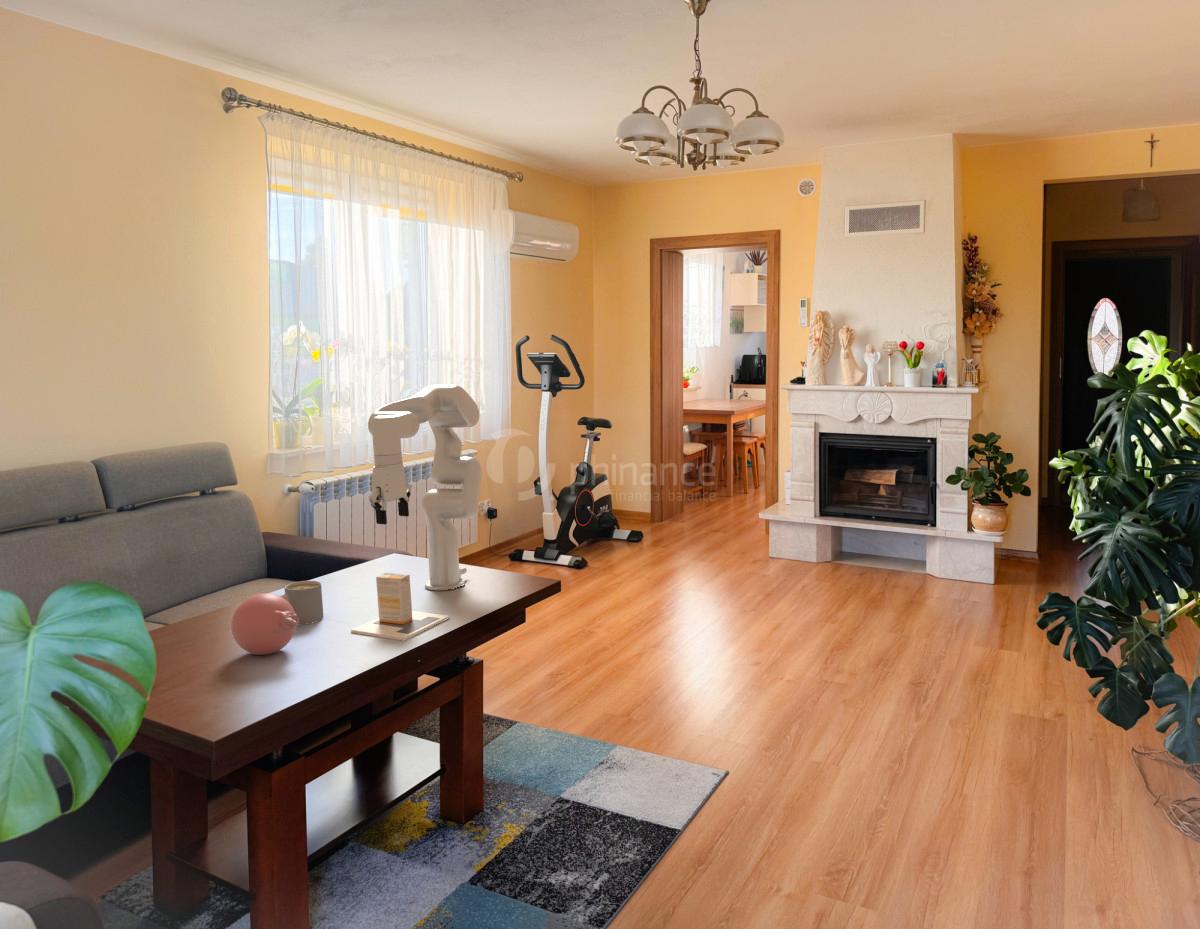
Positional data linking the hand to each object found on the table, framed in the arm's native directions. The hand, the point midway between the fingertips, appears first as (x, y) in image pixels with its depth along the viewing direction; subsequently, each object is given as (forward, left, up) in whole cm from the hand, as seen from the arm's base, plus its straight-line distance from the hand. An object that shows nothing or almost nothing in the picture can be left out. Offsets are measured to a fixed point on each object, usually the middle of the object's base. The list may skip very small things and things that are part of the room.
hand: (393, 519), depth 243 cm
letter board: (+5, +5, -28) cm, 29 cm away
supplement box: (+5, +3, -28) cm, 28 cm away
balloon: (+36, -11, -29) cm, 48 cm away
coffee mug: (+12, -26, -29) cm, 40 cm away
